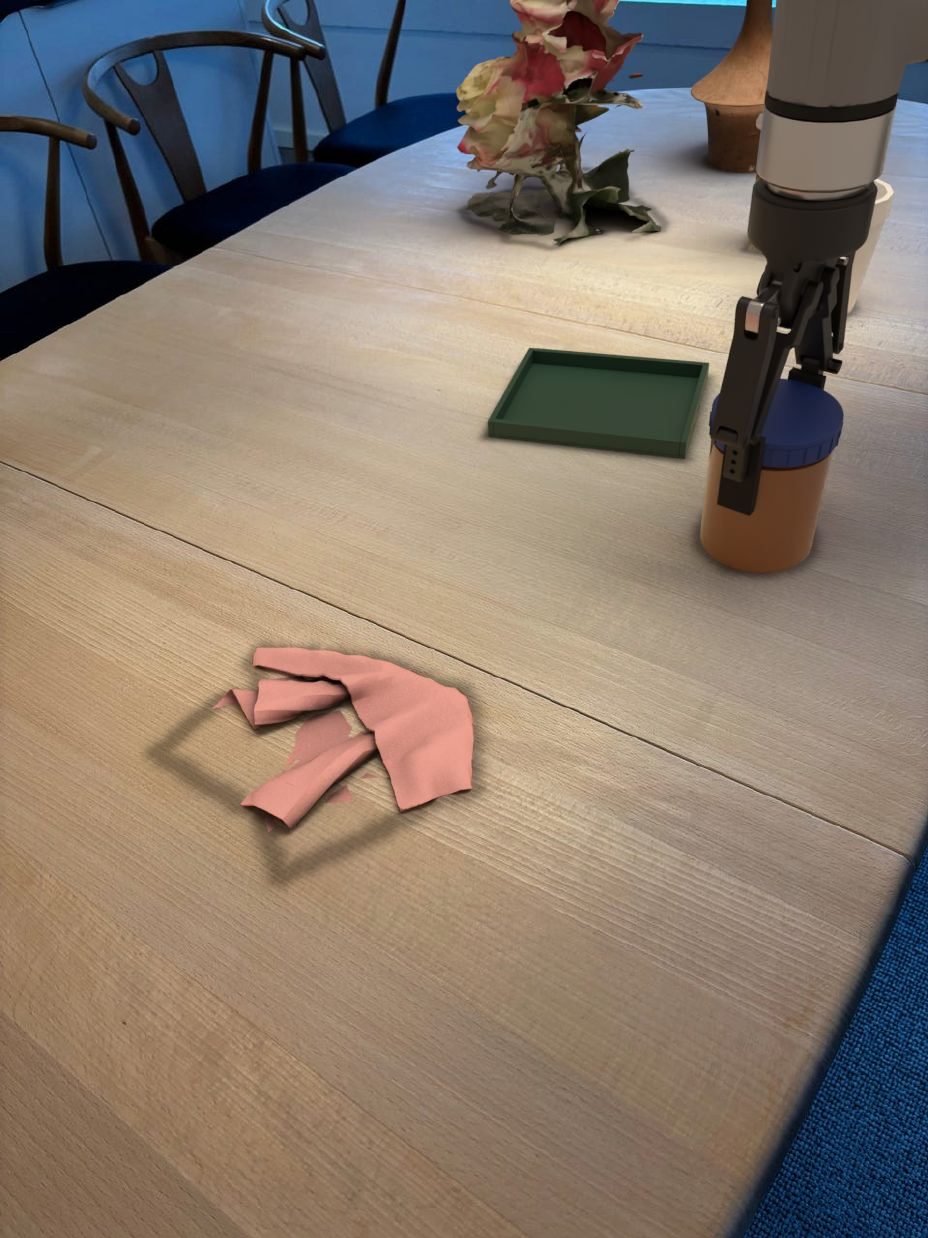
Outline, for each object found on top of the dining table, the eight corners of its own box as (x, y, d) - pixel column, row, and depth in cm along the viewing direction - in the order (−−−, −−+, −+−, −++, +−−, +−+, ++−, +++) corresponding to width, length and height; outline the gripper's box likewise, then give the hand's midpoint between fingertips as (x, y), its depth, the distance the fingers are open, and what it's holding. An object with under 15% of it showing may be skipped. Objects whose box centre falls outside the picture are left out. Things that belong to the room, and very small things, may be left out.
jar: (814, 515, 81) (841, 394, 73) (807, 582, 75) (835, 459, 67) (707, 501, 83) (721, 383, 75) (692, 566, 77) (706, 445, 69)
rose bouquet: (588, 167, 148) (590, -68, 127) (684, 229, 127) (705, -39, 107) (433, 201, 142) (410, -39, 122) (508, 271, 122) (495, -3, 101)
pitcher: (732, 136, 153) (755, -77, 134) (826, 155, 143) (865, -71, 124) (663, 167, 145) (676, -54, 126) (757, 189, 135) (787, -47, 116)
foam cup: (773, 322, 106) (792, 203, 97) (785, 287, 112) (803, 172, 103) (863, 330, 103) (890, 209, 94) (870, 294, 109) (896, 176, 100)
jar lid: (695, 455, 70) (697, 432, 69) (724, 392, 77) (726, 370, 75) (828, 478, 67) (834, 454, 66) (847, 410, 73) (852, 387, 72)
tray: (707, 379, 98) (709, 362, 97) (684, 460, 88) (686, 442, 87) (529, 364, 104) (529, 347, 102) (488, 438, 93) (487, 421, 92)
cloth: (515, 796, 62) (514, 774, 60) (183, 912, 58) (171, 891, 56) (421, 605, 76) (417, 582, 75) (149, 686, 72) (139, 664, 70)
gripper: (832, 120, 67) (783, 400, 82) (673, 229, 55) (651, 531, 71) (940, 134, 63) (868, 424, 79) (794, 253, 51) (743, 567, 67)
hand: (765, 475), depth 75 cm, fingers closed on jar lid, 9 cm apart
